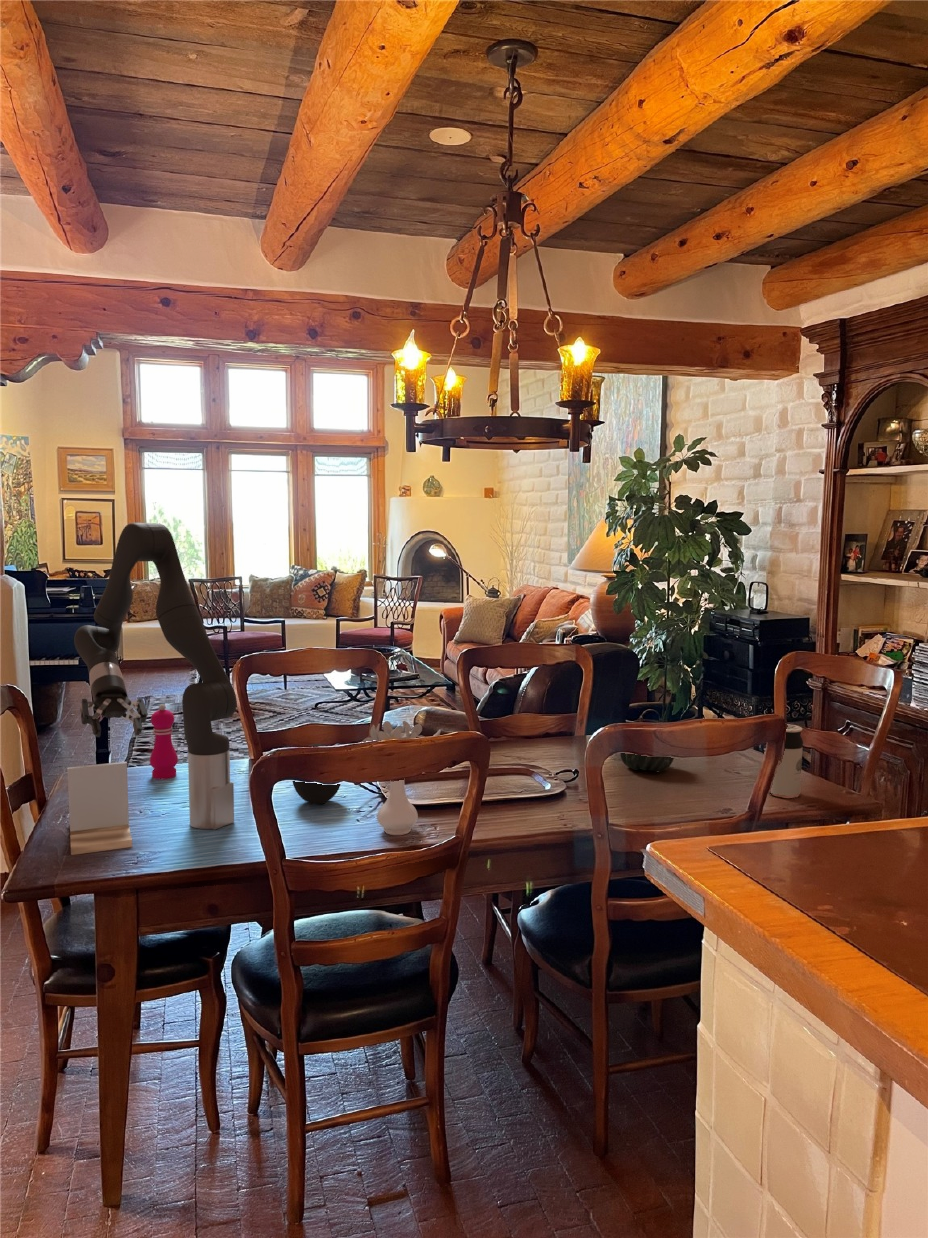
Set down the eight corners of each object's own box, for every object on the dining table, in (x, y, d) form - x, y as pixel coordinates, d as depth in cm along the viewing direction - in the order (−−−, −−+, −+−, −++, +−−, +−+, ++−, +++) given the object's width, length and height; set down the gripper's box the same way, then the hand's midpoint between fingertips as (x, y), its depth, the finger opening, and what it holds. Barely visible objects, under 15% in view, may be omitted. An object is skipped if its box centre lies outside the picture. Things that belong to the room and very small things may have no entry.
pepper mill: (162, 781, 235) (160, 708, 232) (144, 777, 238) (142, 705, 236) (183, 775, 241) (181, 703, 238) (166, 771, 244) (164, 700, 242)
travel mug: (761, 793, 230) (764, 726, 228) (778, 788, 235) (782, 722, 233) (788, 801, 224) (792, 732, 222) (806, 795, 228) (809, 728, 226)
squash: (609, 743, 258) (626, 713, 248) (656, 742, 262) (674, 713, 251) (622, 785, 249) (640, 755, 238) (670, 783, 253) (690, 754, 242)
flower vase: (448, 833, 198) (449, 725, 196) (371, 845, 190) (371, 733, 188) (425, 815, 210) (425, 713, 207) (351, 826, 202) (351, 720, 199)
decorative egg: (352, 803, 219) (352, 744, 217) (313, 815, 210) (312, 753, 208) (321, 792, 227) (320, 735, 225) (281, 803, 218) (281, 744, 216)
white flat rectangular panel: (70, 829, 192) (67, 767, 190) (128, 822, 197) (126, 761, 195) (70, 831, 191) (67, 769, 189) (129, 824, 196) (126, 763, 194)
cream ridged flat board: (69, 824, 202) (69, 815, 201) (125, 817, 207) (125, 809, 206) (71, 855, 183) (70, 846, 183) (132, 846, 188) (131, 837, 188)
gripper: (78, 673, 205) (88, 723, 194) (141, 673, 213) (154, 721, 202) (73, 697, 208) (82, 746, 198) (135, 696, 217) (147, 743, 206)
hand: (118, 733), depth 200 cm, fingers open, 8 cm apart
